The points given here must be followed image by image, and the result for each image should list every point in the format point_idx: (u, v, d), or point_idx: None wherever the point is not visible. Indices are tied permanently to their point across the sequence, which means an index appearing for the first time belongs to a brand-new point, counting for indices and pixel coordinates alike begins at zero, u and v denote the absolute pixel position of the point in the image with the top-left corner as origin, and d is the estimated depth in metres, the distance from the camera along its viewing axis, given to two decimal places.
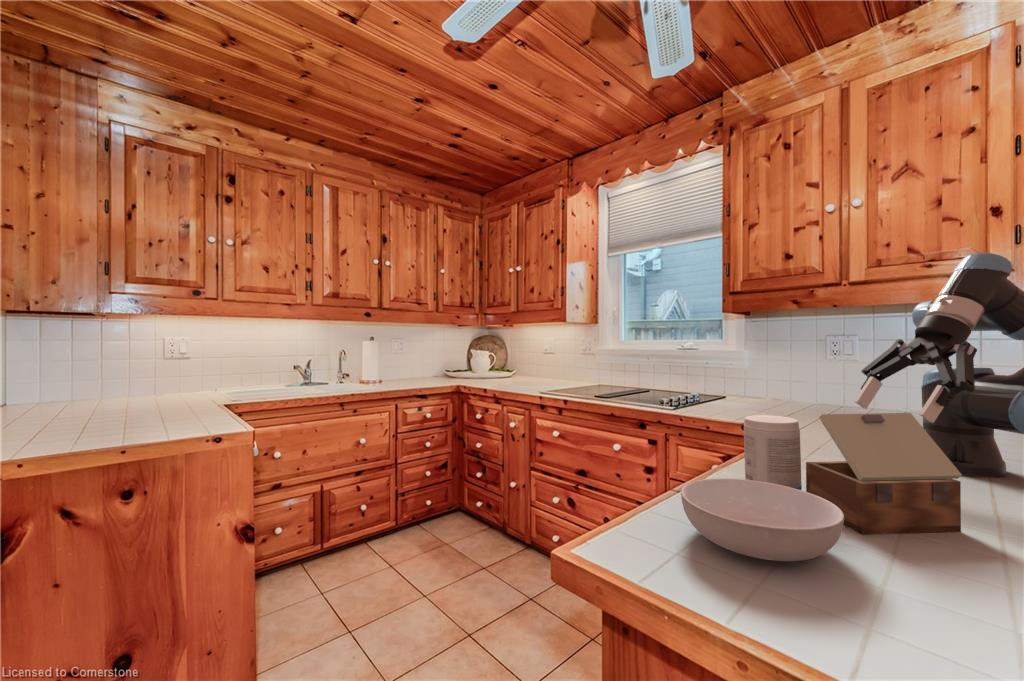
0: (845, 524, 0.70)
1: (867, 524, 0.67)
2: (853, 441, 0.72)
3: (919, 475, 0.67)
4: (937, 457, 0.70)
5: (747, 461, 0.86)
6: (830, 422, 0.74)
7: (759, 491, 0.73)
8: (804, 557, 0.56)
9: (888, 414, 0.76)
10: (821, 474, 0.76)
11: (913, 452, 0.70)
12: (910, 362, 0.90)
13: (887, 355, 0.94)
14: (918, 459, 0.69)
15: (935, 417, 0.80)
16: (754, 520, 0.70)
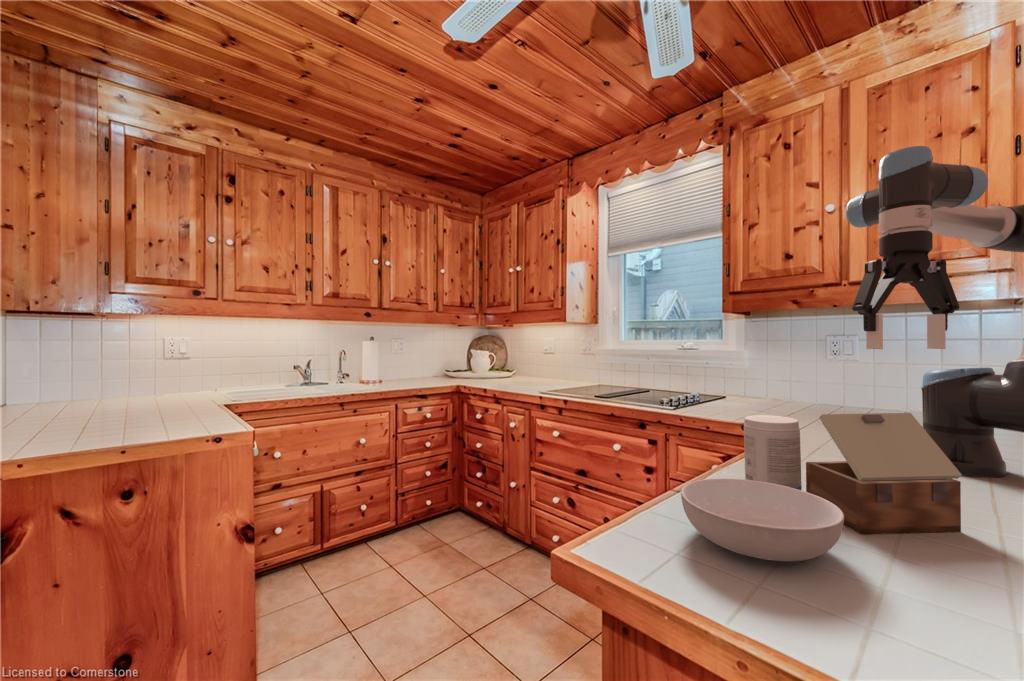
0: (845, 524, 0.70)
1: (867, 524, 0.67)
2: (853, 441, 0.72)
3: (919, 475, 0.67)
4: (937, 457, 0.70)
5: (747, 461, 0.86)
6: (830, 422, 0.74)
7: (759, 491, 0.73)
8: (804, 557, 0.56)
9: (888, 414, 0.76)
10: (821, 474, 0.76)
11: (913, 452, 0.70)
12: None
13: (878, 282, 0.81)
14: (918, 459, 0.69)
15: None
16: (754, 520, 0.70)
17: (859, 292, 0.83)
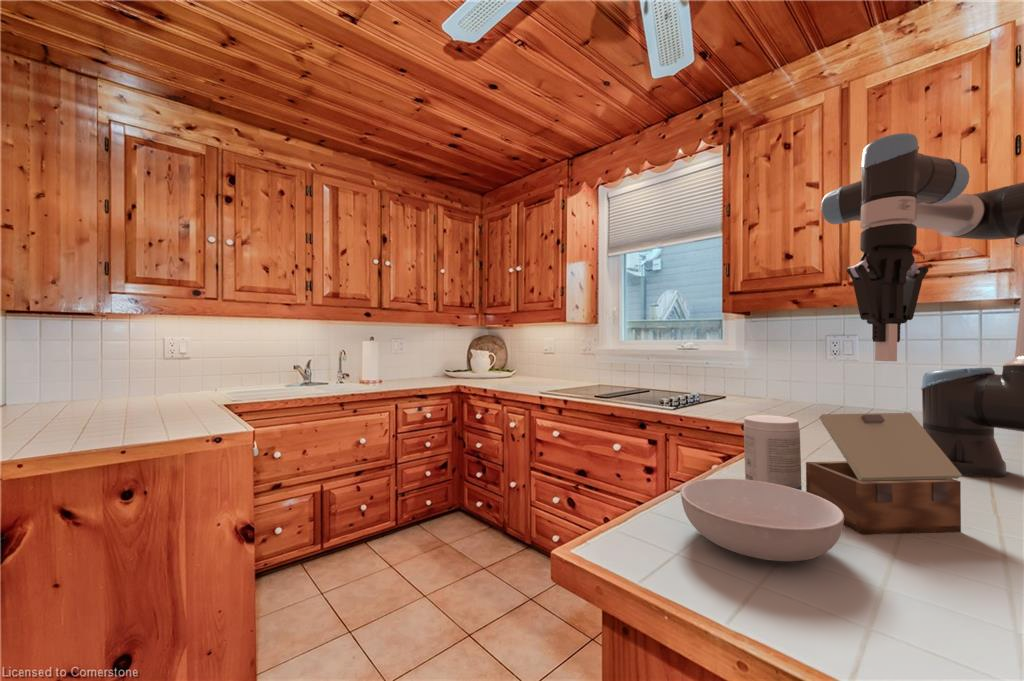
0: (845, 524, 0.70)
1: (867, 524, 0.67)
2: (853, 441, 0.72)
3: (919, 475, 0.67)
4: (937, 457, 0.70)
5: (747, 461, 0.86)
6: (830, 422, 0.74)
7: (759, 491, 0.73)
8: (804, 557, 0.56)
9: (888, 414, 0.76)
10: (821, 474, 0.76)
11: (913, 452, 0.70)
12: None
13: None
14: (918, 459, 0.69)
15: None
16: (754, 520, 0.70)
17: (859, 301, 0.77)
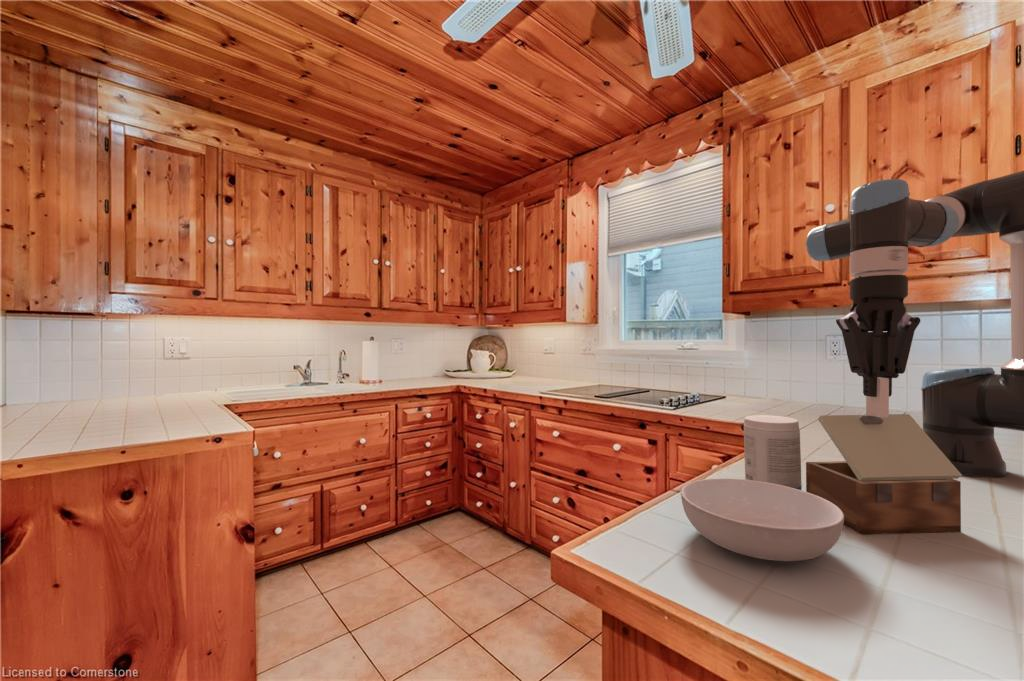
0: (845, 524, 0.70)
1: (867, 524, 0.67)
2: (853, 441, 0.72)
3: (919, 475, 0.67)
4: (937, 457, 0.70)
5: (747, 461, 0.86)
6: (829, 423, 0.74)
7: (759, 491, 0.73)
8: (804, 557, 0.56)
9: None
10: (821, 474, 0.76)
11: (912, 452, 0.70)
12: None
13: (862, 339, 0.72)
14: (918, 459, 0.70)
15: None
16: (754, 520, 0.70)
17: (849, 353, 0.74)
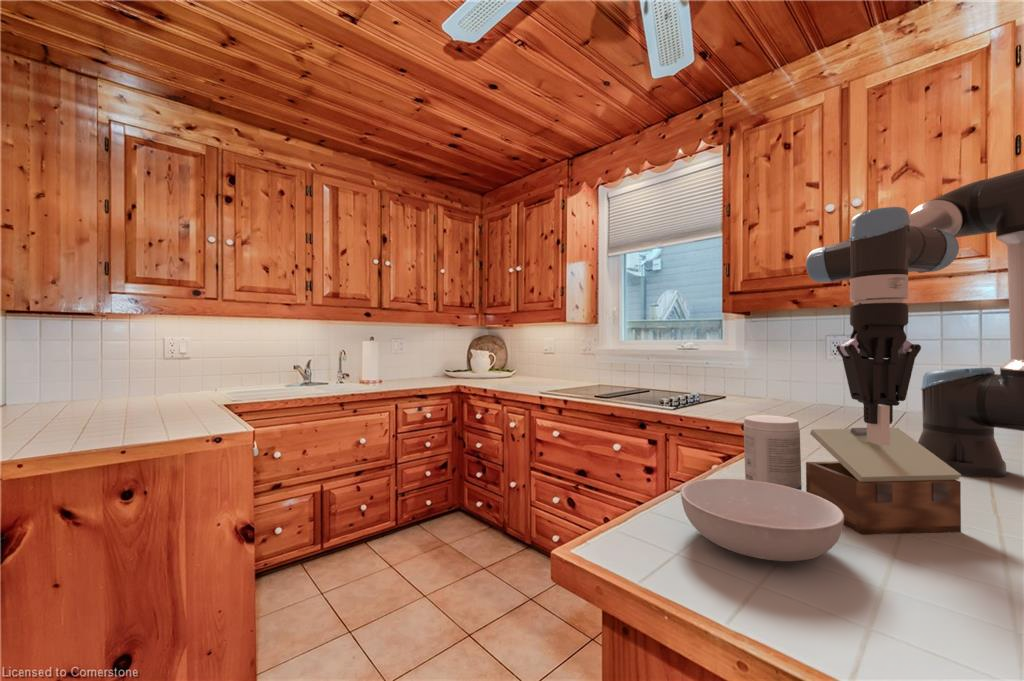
0: (845, 524, 0.70)
1: (867, 524, 0.67)
2: (847, 449, 0.73)
3: (918, 475, 0.68)
4: (933, 460, 0.71)
5: (747, 461, 0.86)
6: (821, 435, 0.76)
7: (759, 491, 0.73)
8: (804, 557, 0.56)
9: None
10: (821, 474, 0.76)
11: (907, 457, 0.71)
12: None
13: (862, 366, 0.72)
14: (914, 462, 0.70)
15: None
16: (754, 520, 0.70)
17: (849, 380, 0.74)
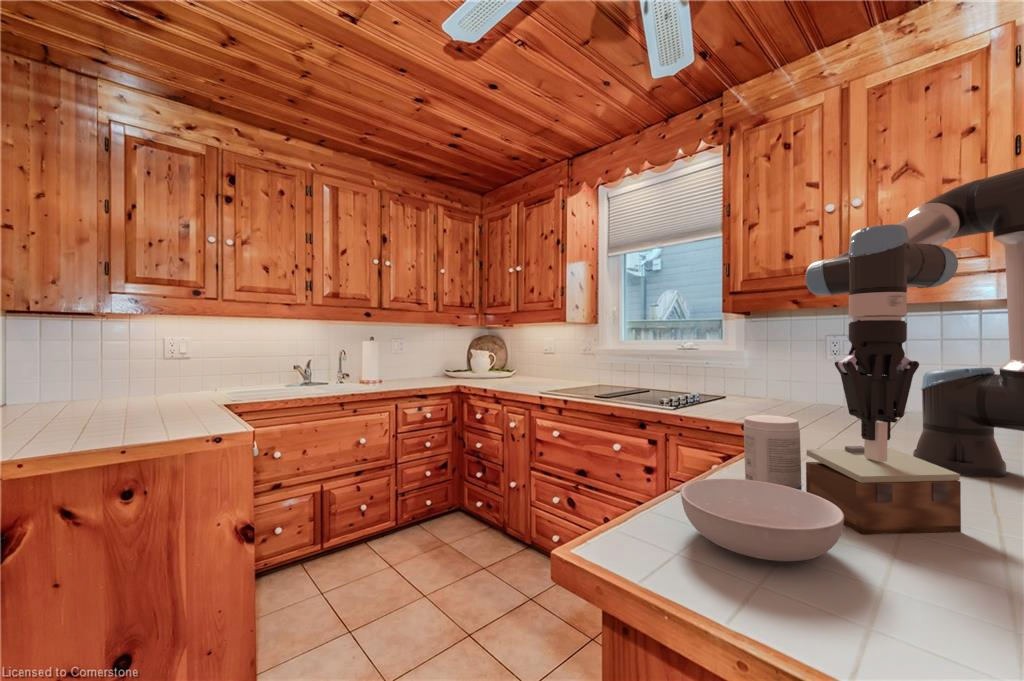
0: (845, 524, 0.70)
1: (867, 524, 0.67)
2: (843, 460, 0.74)
3: (917, 474, 0.68)
4: (930, 466, 0.71)
5: (747, 461, 0.86)
6: (816, 452, 0.77)
7: (759, 491, 0.73)
8: (804, 557, 0.56)
9: None
10: (821, 474, 0.76)
11: (904, 464, 0.72)
12: None
13: (860, 383, 0.72)
14: (911, 467, 0.71)
15: None
16: (754, 520, 0.70)
17: (847, 396, 0.74)
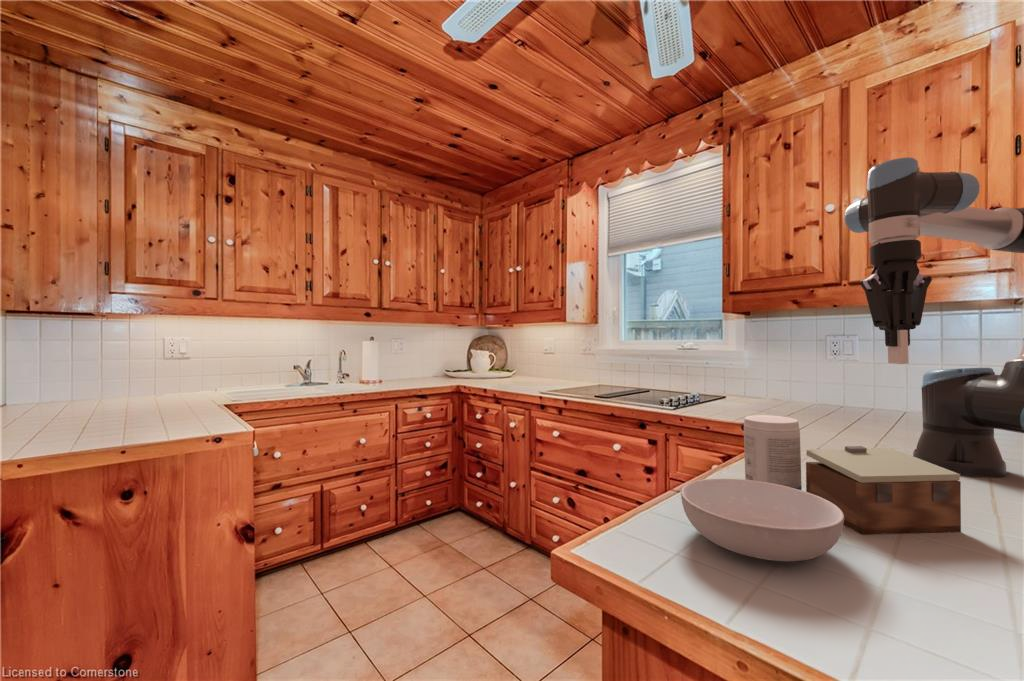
0: (845, 524, 0.70)
1: (867, 524, 0.67)
2: (843, 460, 0.74)
3: (917, 475, 0.68)
4: (930, 466, 0.71)
5: (747, 461, 0.86)
6: (816, 453, 0.77)
7: (759, 491, 0.73)
8: (804, 557, 0.56)
9: (870, 449, 0.79)
10: (821, 474, 0.76)
11: (904, 464, 0.72)
12: None
13: None
14: (911, 467, 0.71)
15: None
16: (754, 520, 0.70)
17: (872, 310, 0.85)
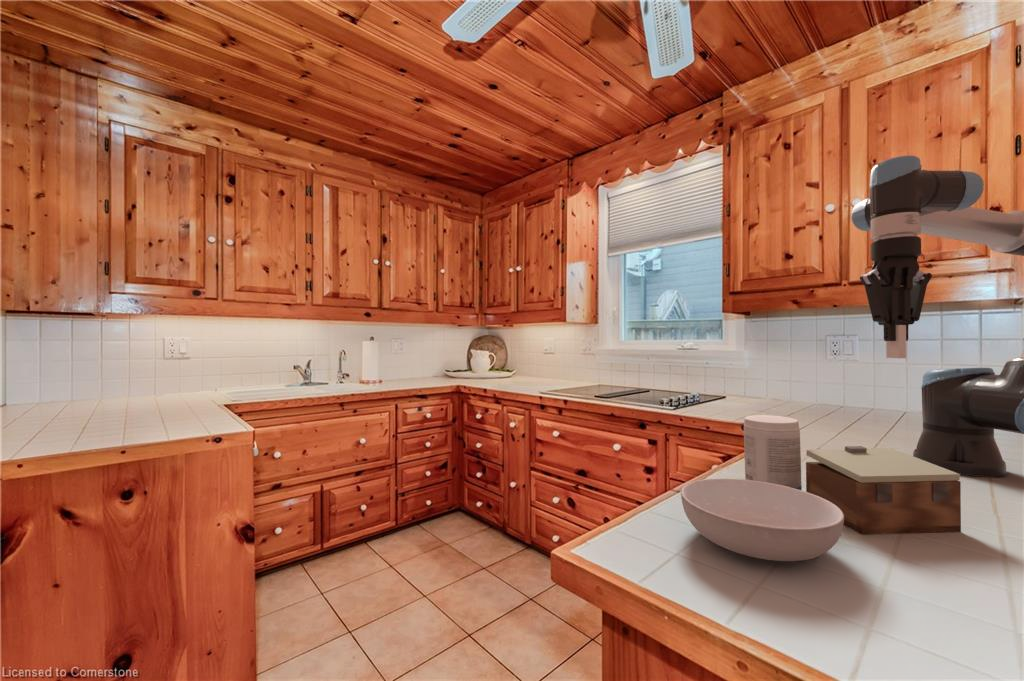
0: (845, 524, 0.70)
1: (867, 524, 0.67)
2: (843, 460, 0.74)
3: (917, 475, 0.68)
4: (930, 466, 0.71)
5: (747, 461, 0.86)
6: (816, 453, 0.77)
7: (759, 491, 0.73)
8: (804, 557, 0.56)
9: (870, 449, 0.79)
10: (821, 474, 0.76)
11: (904, 464, 0.72)
12: None
13: None
14: (911, 467, 0.71)
15: None
16: (754, 520, 0.70)
17: (871, 305, 0.87)
